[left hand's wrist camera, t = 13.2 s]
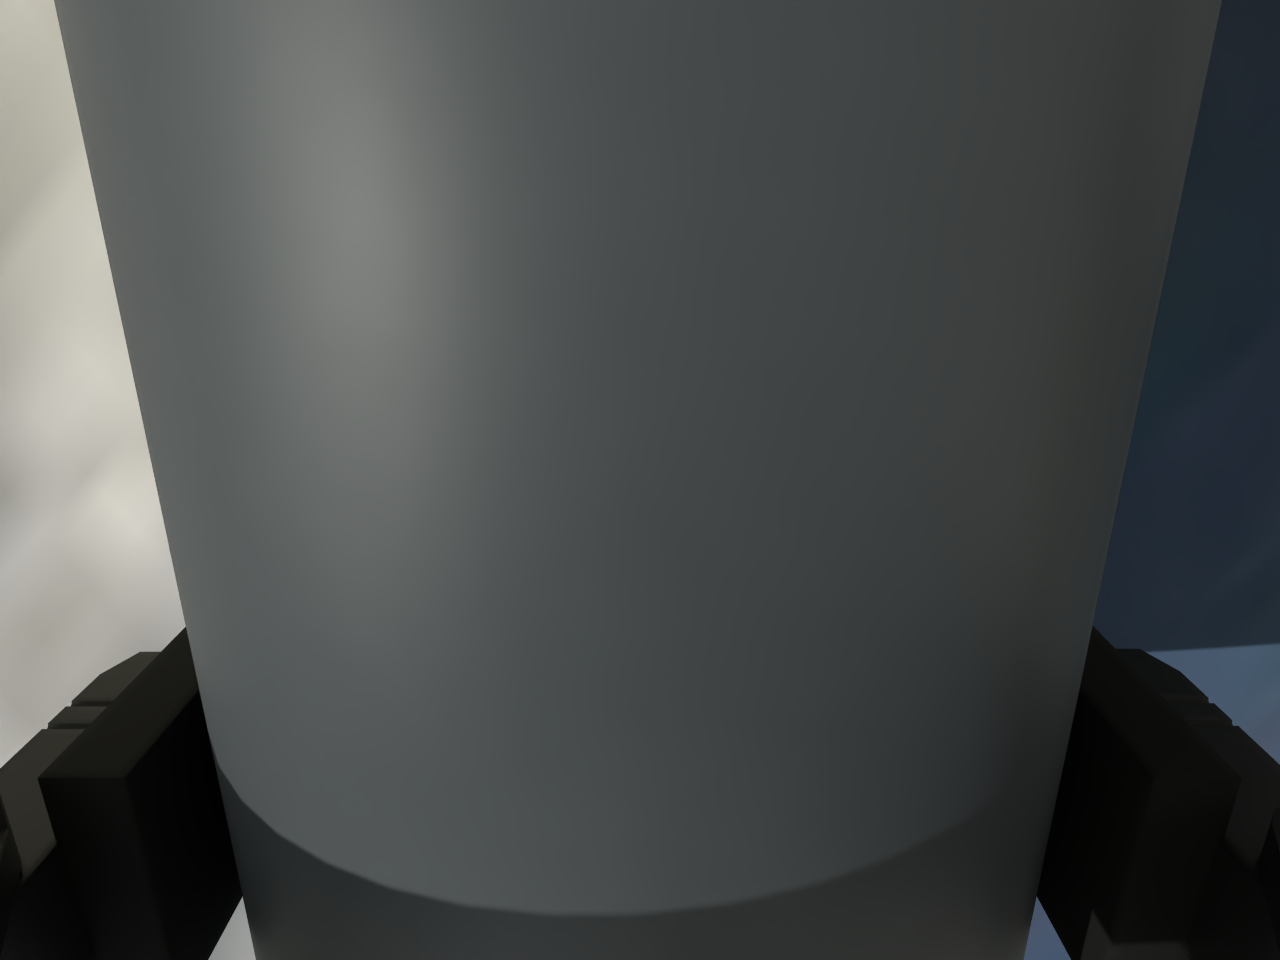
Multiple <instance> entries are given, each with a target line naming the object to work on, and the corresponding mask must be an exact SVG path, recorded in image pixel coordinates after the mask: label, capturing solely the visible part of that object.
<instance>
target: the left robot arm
mask: <svg viewBox="0 0 1280 960" xmlns="http://www.w3.org/2000/svg"><path fill="white" fill-rule="evenodd" d="M242 896H243V895H242V890H241V885H240V881H239V876H238V871H237V866H236V862H235V857H234V852H233V847H232V843H231V838H230V833H229V828H228V824H227V819H226V814H225V809H224V805H223V800H222V795H221V790H220V786H219V781H218V776H217V771H216V767H215V762H214V757H213V752H212V748H211V743H210V738H209V733H208V729H207V724H206V719H205V714H204V710H203V705H202V700H201V695H200V691H199V686H198V681H197V676H196V672H195V667H194V662H193V657H192V653H191V648H190V643H189V638H188V633H187V629H186V627H185V628H184V629H183V630H182V631H181V632H180V633H179V634H178V635H177V636H176V637H175V638H174V639H173V640H172V641H171V642H170V643H169V644H168V645H167V646H166V647H165V648H164V649H163V650H162V651H161V652H139V653H137V654H136V655H134V656H132V657H130V658H129V659H127V660H125V661H123V662H121V663H120V664H118V665H116V666H114V667H113V668H111V669H109V670H107V671H105V672H104V673H102V674H100V675H99V676H98V677H97V678H96V679H95V680H94V681H93V682H92V683H90V684H89V685H88V686H87V687H86V688H85V689H84V690H83V691H82V692H81V693H80V694H79V695H78V696H77V697H76V698H75V699H74V700H72V705H71V707H65V708H64V709H63V710H62V711H61V712H60V713H59V714H58V715H57V716H56V717H54V718H53V719H52V720H51V721H50V722H49V723H48V728H47V729H42V730H41V731H40V732H39V733H37V734H36V735H35V736H34V737H33V738H32V739H31V740H30V741H29V742H28V743H27V744H26V745H25V746H24V747H23V748H22V749H21V750H19V751H18V752H17V753H16V754H15V755H14V756H13V757H12V758H11V759H10V760H9V761H8V762H7V763H6V764H5V765H4V766H3V767H1V768H0V960H208V959H209V957H210V955H211V953H212V952H213V950H214V948H215V946H216V944H217V942H218V940H219V939H220V937H221V935H222V933H223V931H224V929H225V928H226V926H227V924H228V922H229V920H230V918H231V917H232V915H233V913H234V911H235V909H236V907H237V906H238V904H239V902H240V900H241V898H242ZM1037 897H1038V899H1039V901H1040V903H1041V905H1042V907H1043V908H1044V910H1045V912H1046V914H1047V916H1048V918H1049V919H1050V921H1051V923H1052V925H1053V927H1054V929H1055V931H1056V932H1057V934H1058V936H1059V938H1060V940H1061V942H1062V943H1063V945H1064V947H1065V949H1066V951H1067V953H1068V954H1069V956H1070V958H1071V960H1280V765H1279V764H1278V763H1277V762H1276V761H1275V760H1274V759H1273V758H1272V757H1271V756H1270V755H1269V754H1268V753H1266V752H1265V751H1264V750H1263V749H1262V748H1261V747H1260V746H1259V745H1258V744H1257V743H1256V742H1255V741H1254V740H1253V739H1252V738H1250V737H1249V736H1248V735H1247V734H1246V733H1245V732H1244V731H1243V730H1242V729H1241V728H1240V727H1239V726H1233V725H1232V720H1231V719H1230V718H1229V717H1228V716H1227V715H1226V714H1225V713H1224V712H1223V711H1222V710H1221V709H1220V708H1218V707H1217V706H1216V705H1215V704H1214V703H1209V701H1208V697H1207V696H1206V695H1205V694H1204V693H1202V692H1201V691H1200V690H1199V689H1198V688H1197V687H1196V686H1195V685H1194V684H1193V683H1192V682H1191V681H1190V680H1189V679H1188V678H1186V677H1185V676H1184V675H1183V674H1182V673H1181V672H1180V671H1178V670H1176V669H1175V668H1173V667H1171V666H1169V665H1167V664H1166V663H1164V662H1162V661H1160V660H1159V659H1157V658H1155V657H1153V656H1151V655H1150V654H1148V653H1146V652H1144V651H1142V650H1141V649H1115V648H1114V647H1113V646H1112V645H1111V644H1110V643H1109V642H1108V641H1107V640H1106V639H1105V638H1104V637H1103V636H1102V635H1101V634H1100V633H1099V632H1098V631H1097V630H1096V629H1095V628H1094V627H1093V626H1092V631H1091V636H1090V640H1089V645H1088V650H1087V655H1086V660H1085V665H1084V669H1083V674H1082V679H1081V684H1080V689H1079V694H1078V698H1077V703H1076V708H1075V713H1074V718H1073V723H1072V727H1071V732H1070V737H1069V742H1068V747H1067V751H1066V756H1065V761H1064V766H1063V771H1062V776H1061V780H1060V785H1059V790H1058V795H1057V800H1056V805H1055V809H1054V814H1053V819H1052V824H1051V829H1050V834H1049V838H1048V843H1047V848H1046V853H1045V858H1044V862H1043V867H1042V872H1041V877H1040V882H1039V887H1038V891H1037Z"/></svg>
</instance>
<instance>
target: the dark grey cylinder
mask: <svg viewBox="0 0 1280 960" xmlns="http://www.w3.org/2000/svg"><path fill="white" fill-rule="evenodd" d="M54 1H55V6H56V11H57V16H58V20H59V25H60V30H61V35H62V39H63V44H64V49H65V54H66V59H67V63H68V68H69V73H70V78H71V82H72V87H73V92H74V97H75V101H76V106H77V111H78V116H79V120H80V125H81V130H82V135H83V139H84V144H85V149H86V154H87V158H88V163H89V168H90V173H91V177H92V182H93V187H94V192H95V196H96V201H97V206H98V211H99V215H100V220H101V225H102V230H103V234H104V239H105V244H106V249H107V253H108V258H109V263H110V268H111V272H112V277H113V282H114V287H115V291H116V296H117V301H118V306H119V310H120V315H121V320H122V325H123V329H124V334H125V339H126V344H127V348H128V353H129V358H130V363H131V367H132V372H133V377H134V382H135V386H136V391H137V396H138V401H139V405H140V410H141V415H142V420H143V424H144V429H145V434H146V439H147V443H148V448H149V453H150V458H151V462H152V467H153V472H154V477H155V481H156V486H157V491H158V496H159V500H160V505H161V510H162V515H163V519H164V524H165V529H166V534H167V538H168V543H169V548H170V553H171V557H172V562H173V567H174V572H175V576H176V581H177V586H178V591H179V595H180V600H181V605H182V610H183V614H184V619H185V624H186V629H187V633H188V638H189V643H190V648H191V653H192V657H193V662H194V667H195V672H196V676H197V681H198V686H199V691H200V695H201V700H202V705H203V710H204V714H205V719H206V724H207V729H208V733H209V738H210V743H211V748H212V752H213V757H214V762H215V767H216V771H217V776H218V781H219V786H220V790H221V795H222V800H223V805H224V809H225V814H226V819H227V824H228V828H229V833H230V838H231V843H232V847H233V852H234V857H235V862H236V866H237V871H238V876H239V881H240V885H241V890H242V895H243V900H244V904H245V909H246V914H247V919H248V923H249V928H250V933H251V938H252V942H253V947H254V952H255V957H256V960H1023V959H1024V954H1025V949H1026V944H1027V940H1028V935H1029V930H1030V925H1031V920H1032V916H1033V911H1034V906H1035V901H1036V896H1037V891H1038V887H1039V882H1040V877H1041V872H1042V867H1043V862H1044V858H1045V853H1046V848H1047V843H1048V838H1049V834H1050V829H1051V824H1052V819H1053V814H1054V809H1055V805H1056V800H1057V795H1058V790H1059V785H1060V780H1061V776H1062V771H1063V766H1064V761H1065V756H1066V751H1067V747H1068V742H1069V737H1070V732H1071V727H1072V723H1073V718H1074V713H1075V708H1076V703H1077V698H1078V694H1079V689H1080V684H1081V679H1082V674H1083V669H1084V665H1085V660H1086V655H1087V650H1088V645H1089V640H1090V636H1091V631H1092V626H1093V621H1094V616H1095V612H1096V607H1097V602H1098V597H1099V592H1100V587H1101V583H1102V578H1103V573H1104V568H1105V563H1106V558H1107V554H1108V549H1109V544H1110V539H1111V534H1112V530H1113V525H1114V520H1115V515H1116V510H1117V505H1118V501H1119V496H1120V491H1121V486H1122V481H1123V476H1124V472H1125V467H1126V462H1127V457H1128V452H1129V447H1130V443H1131V438H1132V433H1133V428H1134V423H1135V419H1136V414H1137V409H1138V404H1139V399H1140V394H1141V390H1142V385H1143V380H1144V375H1145V370H1146V365H1147V361H1148V356H1149V351H1150V346H1151V341H1152V336H1153V332H1154V327H1155V322H1156V317H1157V312H1158V308H1159V303H1160V298H1161V293H1162V288H1163V283H1164V279H1165V274H1166V269H1167V264H1168V259H1169V254H1170V250H1171V245H1172V240H1173V235H1174V230H1175V226H1176V221H1177V216H1178V211H1179V206H1180V201H1181V197H1182V192H1183V187H1184V182H1185V177H1186V172H1187V168H1188V163H1189V158H1190V153H1191V148H1192V143H1193V139H1194V134H1195V129H1196V124H1197V119H1198V115H1199V110H1200V105H1201V100H1202V95H1203V90H1204V86H1205V81H1206V76H1207V71H1208V66H1209V61H1210V57H1211V52H1212V47H1213V42H1214V37H1215V33H1216V28H1217V23H1218V18H1219V13H1220V8H1221V4H1222V0H54Z"/></svg>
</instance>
